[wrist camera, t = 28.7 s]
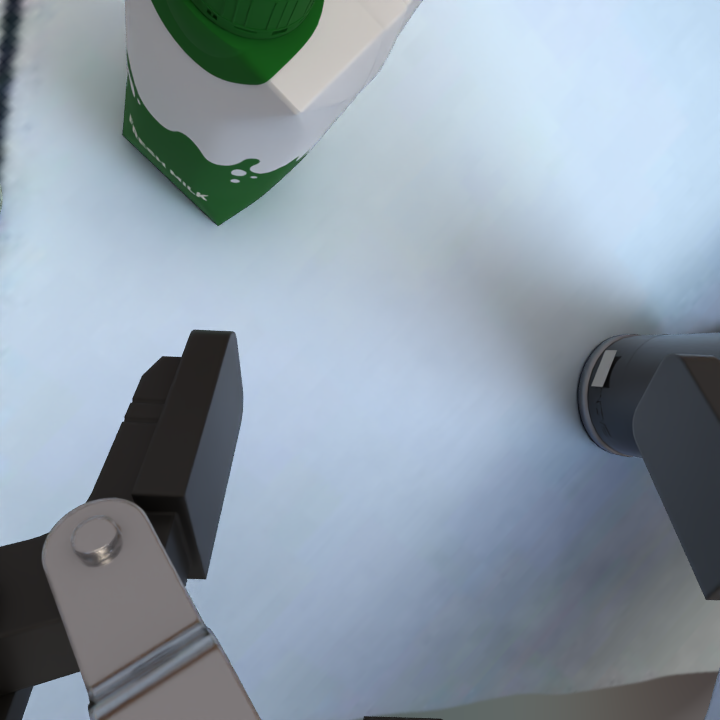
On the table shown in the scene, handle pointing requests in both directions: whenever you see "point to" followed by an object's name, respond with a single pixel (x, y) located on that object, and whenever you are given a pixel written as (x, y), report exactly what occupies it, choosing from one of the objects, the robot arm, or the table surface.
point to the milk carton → (246, 86)
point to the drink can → (0, 197)
